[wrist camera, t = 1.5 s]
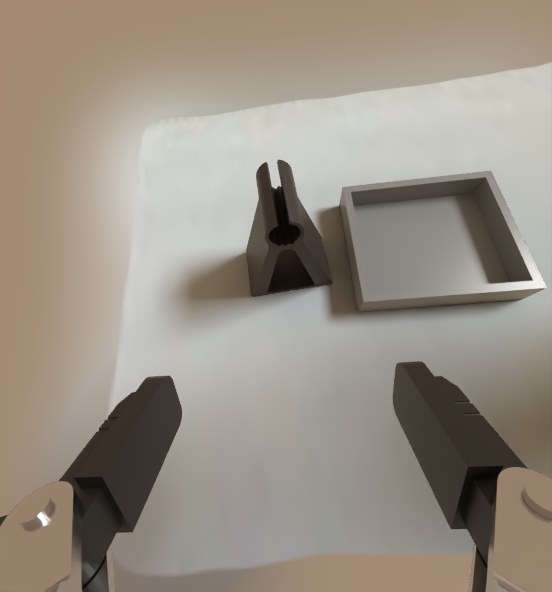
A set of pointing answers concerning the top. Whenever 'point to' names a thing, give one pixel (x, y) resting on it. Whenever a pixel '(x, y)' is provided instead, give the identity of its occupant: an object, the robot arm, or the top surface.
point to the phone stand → (283, 239)
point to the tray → (434, 243)
